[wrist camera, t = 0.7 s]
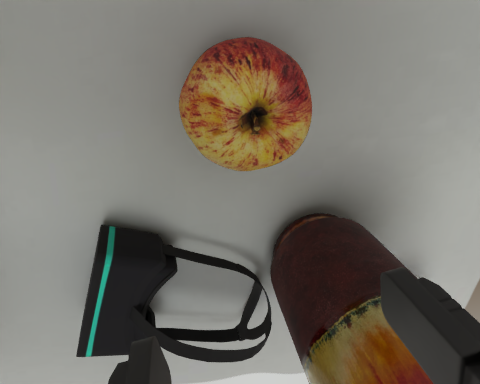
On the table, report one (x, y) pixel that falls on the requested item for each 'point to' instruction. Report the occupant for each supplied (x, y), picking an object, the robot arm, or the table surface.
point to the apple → (246, 104)
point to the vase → (339, 303)
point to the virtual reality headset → (141, 293)
